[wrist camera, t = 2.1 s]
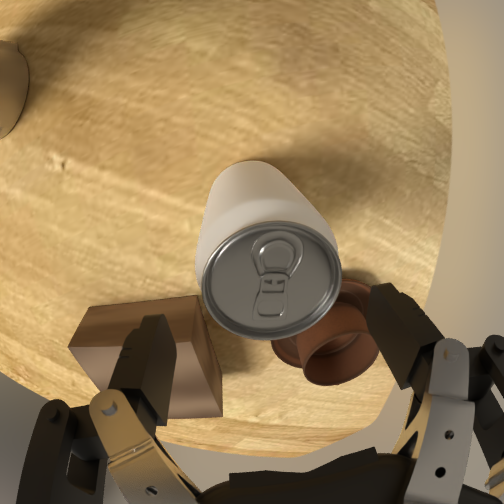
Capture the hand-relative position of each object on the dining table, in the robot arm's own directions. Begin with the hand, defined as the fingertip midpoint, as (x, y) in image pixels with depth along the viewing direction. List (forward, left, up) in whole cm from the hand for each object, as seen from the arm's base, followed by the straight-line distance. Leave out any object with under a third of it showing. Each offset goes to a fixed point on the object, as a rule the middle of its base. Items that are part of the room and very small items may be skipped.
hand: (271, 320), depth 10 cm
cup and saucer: (+13, +6, -13) cm, 20 cm away
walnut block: (+13, -12, -13) cm, 22 cm away
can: (-1, 0, -13) cm, 13 cm away
